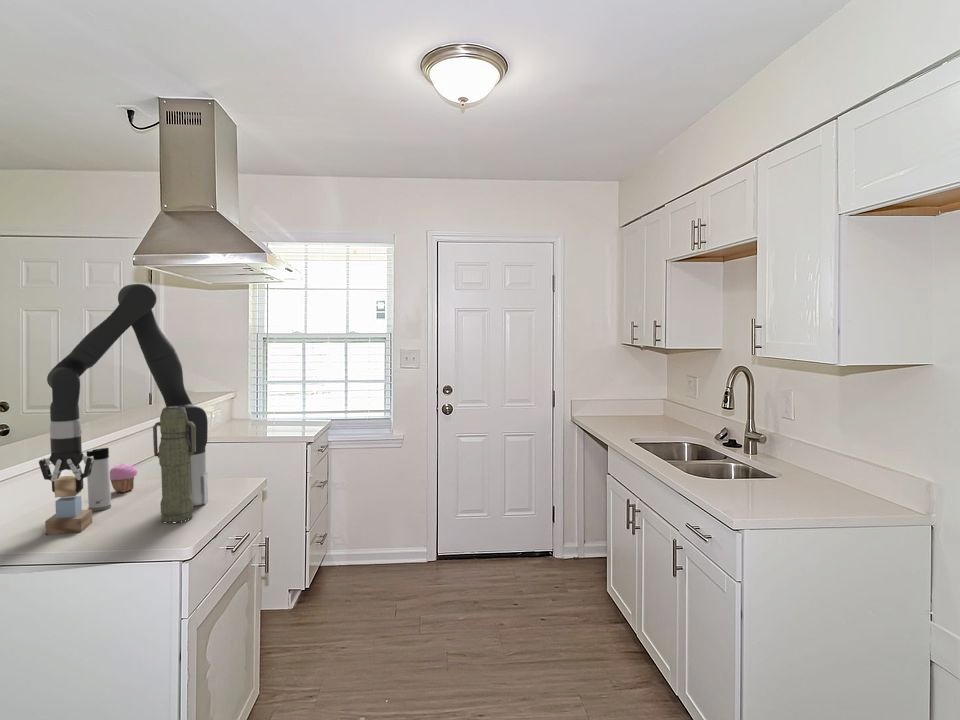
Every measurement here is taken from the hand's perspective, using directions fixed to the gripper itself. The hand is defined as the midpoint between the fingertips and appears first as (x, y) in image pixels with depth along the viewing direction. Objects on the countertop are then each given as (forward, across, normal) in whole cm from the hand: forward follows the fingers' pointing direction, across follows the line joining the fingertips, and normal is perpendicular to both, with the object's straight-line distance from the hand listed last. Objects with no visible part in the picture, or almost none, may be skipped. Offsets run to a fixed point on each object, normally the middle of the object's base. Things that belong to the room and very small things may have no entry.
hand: (68, 492), depth 181 cm
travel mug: (+11, +2, +20) cm, 23 cm away
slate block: (+7, 0, 0) cm, 7 cm away
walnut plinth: (+11, 0, 0) cm, 11 cm away
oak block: (+1, 0, 0) cm, 1 cm away
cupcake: (+11, +3, +41) cm, 43 cm away
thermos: (+11, +29, +1) cm, 31 cm away
